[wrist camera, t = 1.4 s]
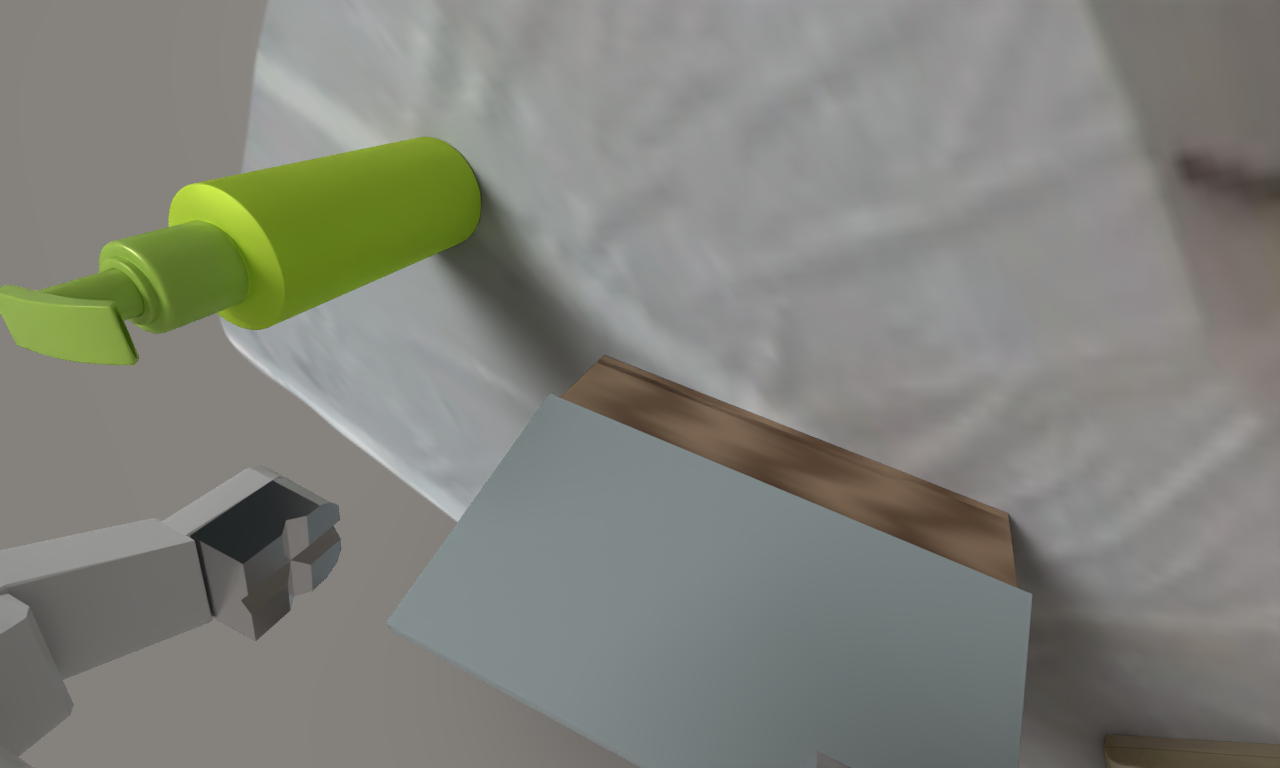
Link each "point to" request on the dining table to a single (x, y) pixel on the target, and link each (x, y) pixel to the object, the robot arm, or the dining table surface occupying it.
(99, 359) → the soap dispenser
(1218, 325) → the dining table surface
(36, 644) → the robot arm
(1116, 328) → the dining table surface
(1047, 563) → the dining table surface
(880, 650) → the lid
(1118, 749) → the computer
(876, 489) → the wooden box
